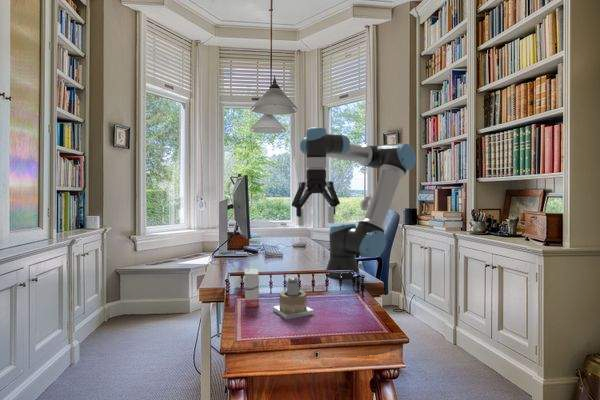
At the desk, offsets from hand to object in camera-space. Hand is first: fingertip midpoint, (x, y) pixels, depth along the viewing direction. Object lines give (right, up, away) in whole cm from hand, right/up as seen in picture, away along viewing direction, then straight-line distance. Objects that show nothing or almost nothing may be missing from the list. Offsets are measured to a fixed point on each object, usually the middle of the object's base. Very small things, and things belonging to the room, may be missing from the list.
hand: (316, 224), depth 165 cm
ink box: (-23, -28, -11) cm, 38 cm away
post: (-9, -28, -21) cm, 36 cm away
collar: (-9, -27, -21) cm, 35 cm away
